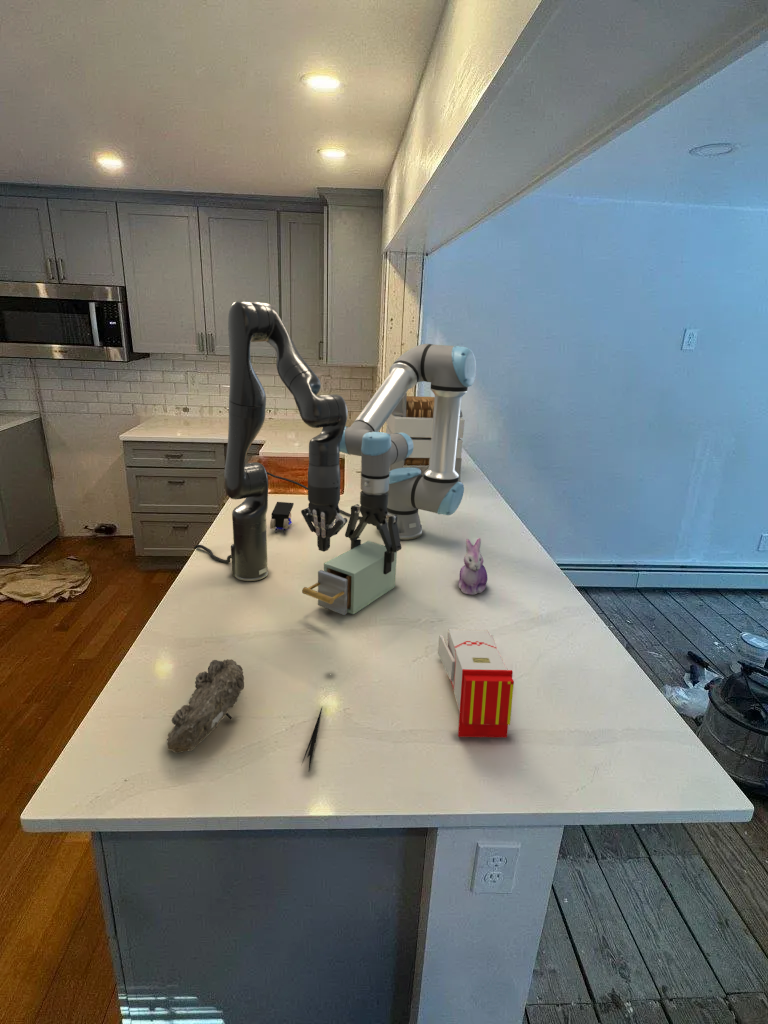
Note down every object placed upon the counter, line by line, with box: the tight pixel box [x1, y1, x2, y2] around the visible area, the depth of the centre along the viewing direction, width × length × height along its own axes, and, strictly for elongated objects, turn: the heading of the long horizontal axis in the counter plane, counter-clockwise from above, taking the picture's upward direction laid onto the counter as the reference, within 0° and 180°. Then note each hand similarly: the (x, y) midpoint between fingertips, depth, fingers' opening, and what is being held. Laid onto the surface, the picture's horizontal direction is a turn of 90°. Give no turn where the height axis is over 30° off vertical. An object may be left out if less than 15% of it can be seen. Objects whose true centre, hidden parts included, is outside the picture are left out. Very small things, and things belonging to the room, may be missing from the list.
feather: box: [301, 673, 332, 771], centre depth 108 cm, size 2×28×2 cm
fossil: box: [166, 658, 245, 754], centre depth 106 cm, size 22×10×15 cm
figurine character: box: [269, 501, 294, 534], centre depth 199 cm, size 7×8×15 cm
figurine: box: [457, 537, 488, 596], centre depth 160 cm, size 9×10×15 cm
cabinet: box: [323, 540, 398, 615], centre depth 155 cm, size 20×10×12 cm, turn 146°
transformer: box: [385, 392, 465, 482], centre depth 268 cm, size 34×33×41 cm
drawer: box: [301, 569, 351, 616], centre depth 149 cm, size 24×9×10 cm, turn 146°
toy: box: [437, 628, 515, 738], centre depth 117 cm, size 12×13×30 cm
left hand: (323, 550), depth 138 cm, fingers closed
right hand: (371, 567), depth 158 cm, fingers closed on cabinet, 10 cm apart
